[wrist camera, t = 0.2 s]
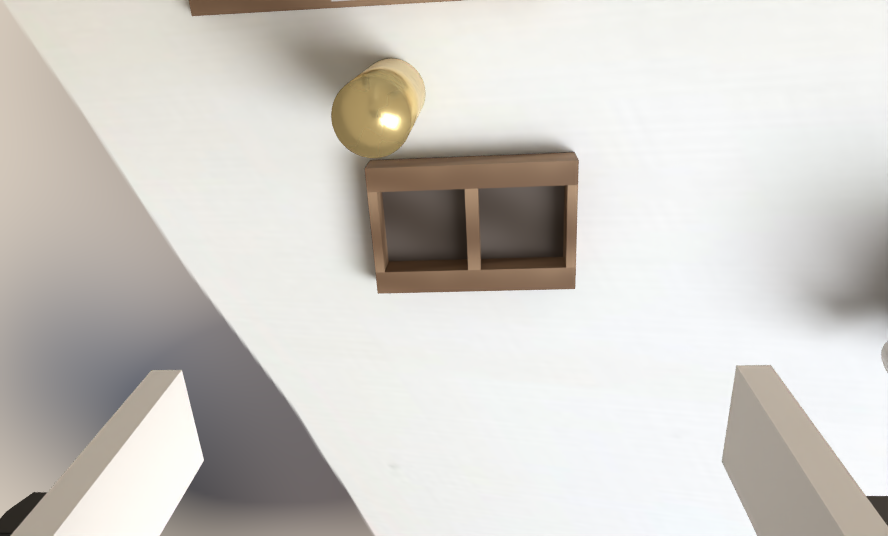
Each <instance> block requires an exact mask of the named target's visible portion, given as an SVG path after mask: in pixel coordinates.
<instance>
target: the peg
mask: <svg viewBox="0 0 888 536" xmlns="http://www.w3.org/2000/svg"><path fill="white" fill-rule="evenodd" d="M424 101H425V86H424V82H423V80H422V77H421V76H420V74H419V73H418V71H417V70H416V69H415V68H414V67H413V66H412V65H410V64H409V63H407V62H405V61H403V60H399V59H393V58H389V59H383V60H380V61H378V62H376V63H374V64H373V65H371V66H370V67H369V68H368V69H366V70H365V71H364V72H362V73H361V74H360V75H358V76H357V77H356V78H354V79H353V80H352V81H350V82H349V83H348V84H346V85H345V86H344V87H343V88H342V89H341V90H340V91H339V93H338V94H337V96H336V98H335V100H334V102H333V106H332V112H331V118H332V125H333V128H334V131H335V133H336V136H337V137H338V139H339V140H340V142H341V143H342V144H343V145H344V146H345V147H346V148H347V149H349V150H350V151H351V152H353V153H355V154H357V155H359V156H362V157H367V158H381V157H385V156H388V155H390V154H392V153H394V152H395V151H396V150H398V149H399V148H400V147H401V146H402V145H403V143H404V142H405V141H406V139H407V137H408V135H409V133H410V131H411V129H412V127H413V125H414V123H415V121H416V119H417V117H418V115H419V113H420V111H421V109H422V107H423V105H424Z"/></svg>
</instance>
